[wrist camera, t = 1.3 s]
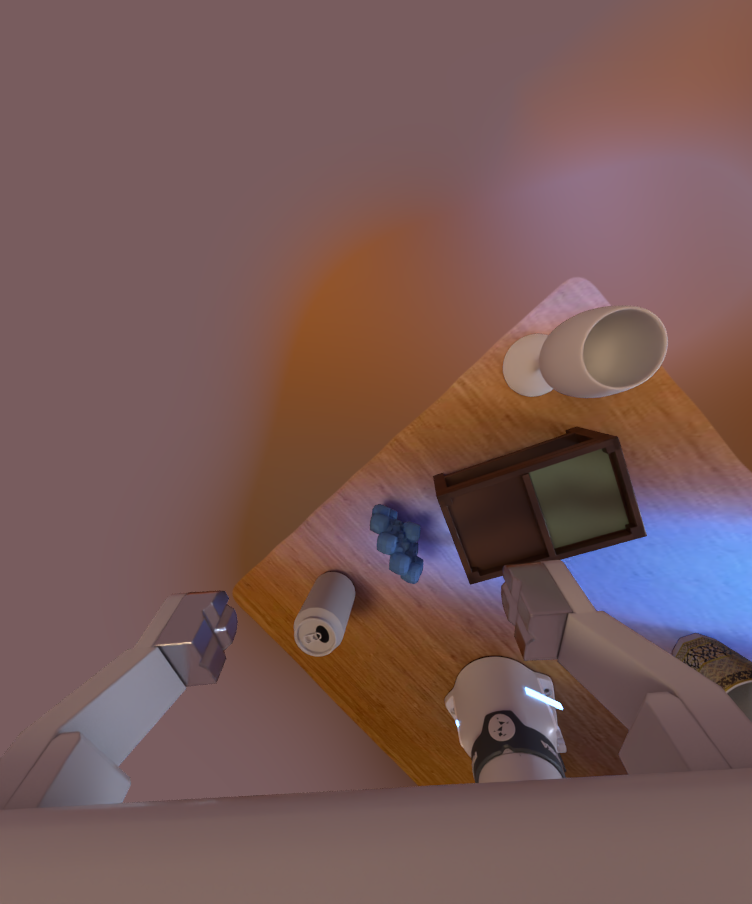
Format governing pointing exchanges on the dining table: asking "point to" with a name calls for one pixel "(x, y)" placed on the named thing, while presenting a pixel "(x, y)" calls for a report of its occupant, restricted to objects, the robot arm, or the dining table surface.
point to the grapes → (397, 542)
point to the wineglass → (589, 354)
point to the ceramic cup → (719, 667)
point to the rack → (540, 503)
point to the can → (324, 614)
